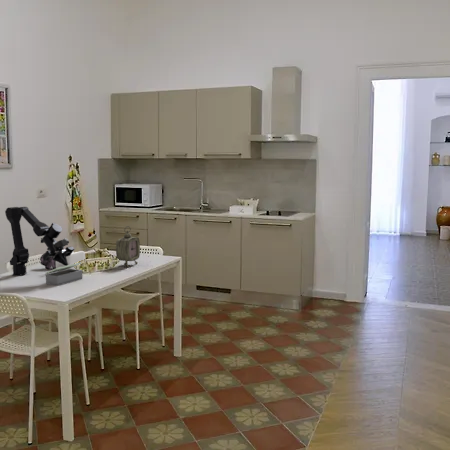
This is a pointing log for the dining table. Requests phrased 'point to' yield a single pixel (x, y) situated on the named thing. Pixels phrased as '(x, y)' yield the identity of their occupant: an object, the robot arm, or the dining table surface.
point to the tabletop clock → (128, 248)
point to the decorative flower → (48, 262)
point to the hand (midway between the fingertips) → (66, 265)
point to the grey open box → (63, 277)
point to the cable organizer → (72, 259)
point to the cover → (63, 268)
